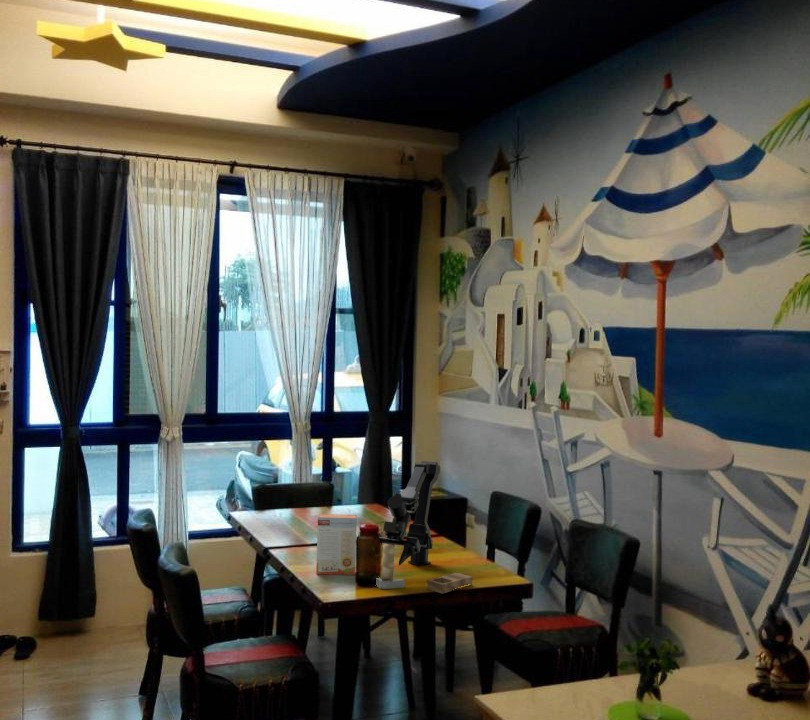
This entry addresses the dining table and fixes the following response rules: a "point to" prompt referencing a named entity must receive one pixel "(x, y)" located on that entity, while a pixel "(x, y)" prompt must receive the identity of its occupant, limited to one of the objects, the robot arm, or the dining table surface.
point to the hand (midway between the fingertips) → (386, 563)
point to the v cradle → (390, 583)
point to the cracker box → (336, 544)
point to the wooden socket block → (448, 582)
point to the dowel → (388, 562)
